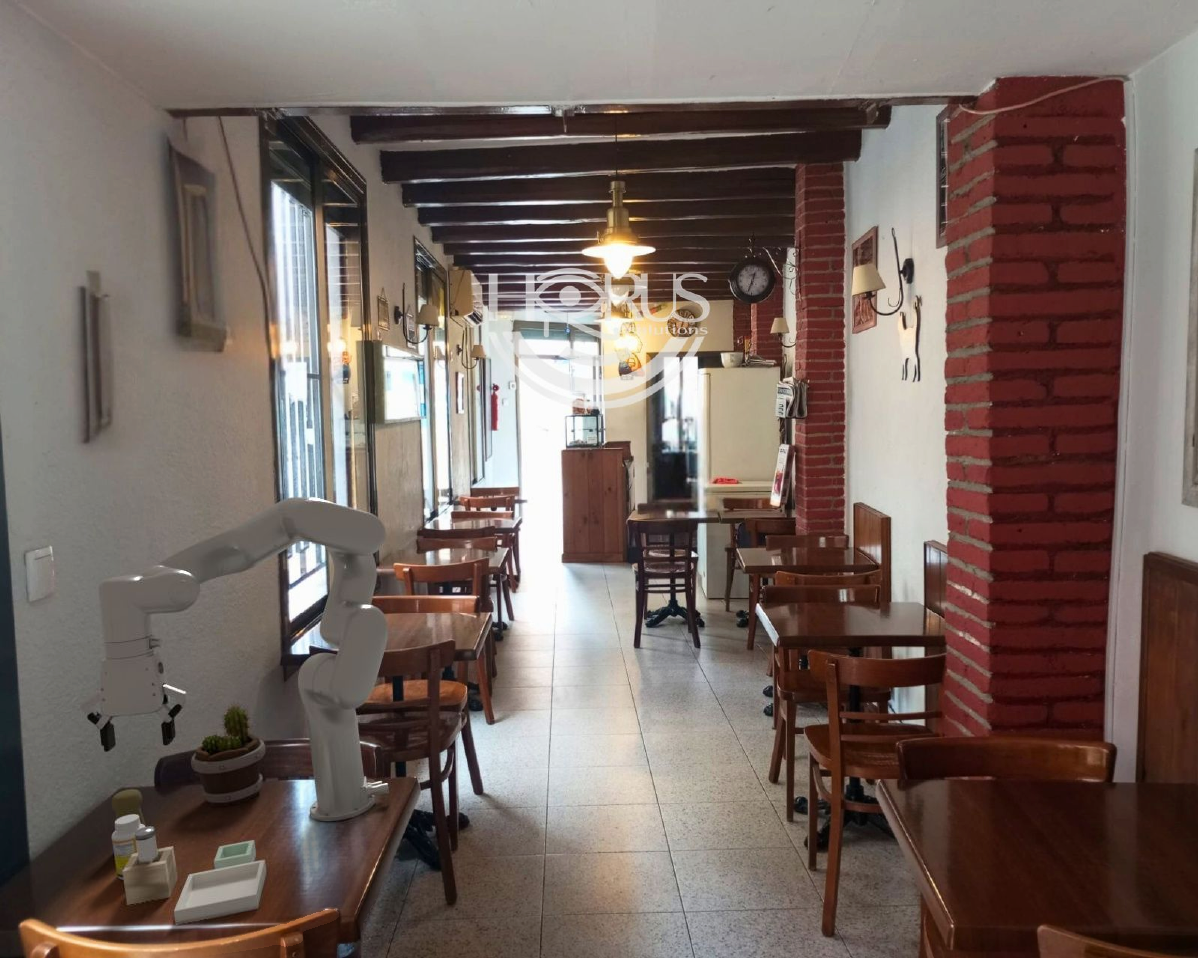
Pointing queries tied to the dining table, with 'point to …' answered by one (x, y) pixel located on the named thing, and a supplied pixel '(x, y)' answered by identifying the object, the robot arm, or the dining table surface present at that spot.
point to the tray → (221, 892)
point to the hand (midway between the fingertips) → (139, 745)
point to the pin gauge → (146, 845)
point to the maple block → (150, 877)
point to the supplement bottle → (125, 840)
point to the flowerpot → (230, 761)
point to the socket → (235, 854)
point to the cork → (128, 804)
